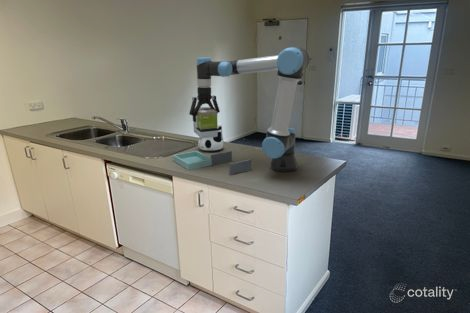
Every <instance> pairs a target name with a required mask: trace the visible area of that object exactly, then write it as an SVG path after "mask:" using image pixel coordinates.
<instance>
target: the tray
mask: <svg viewBox="0 0 470 313" xmlns="http://www.w3.org/2000/svg"><path fill="white" fill-rule="evenodd" d="M172 156H173V157H172V158H173V162H175V163H176V164H178V165H179V166H180V167H183V168H185V169H186V170H188V171H191V170H195V169H200V168H204V167H209V166H213V165H212V159H211V156H209V155H206V154H204V153H203V152H202V153H201V152H200V151H198V150H193V151H187V152H182V153H177V154H173V155H172Z"/></svg>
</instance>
